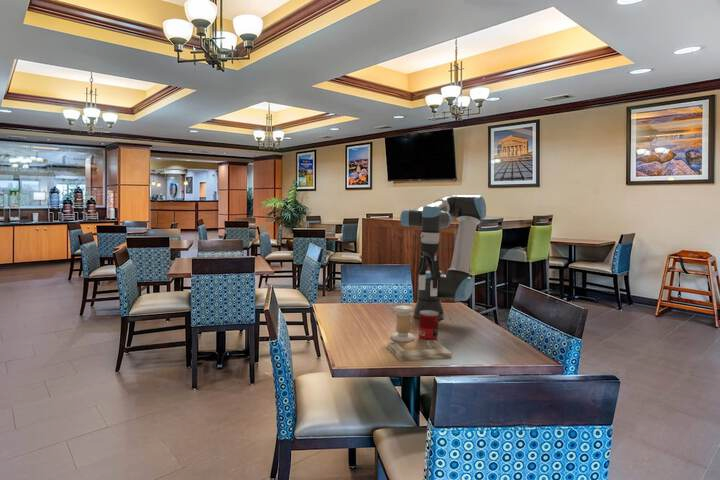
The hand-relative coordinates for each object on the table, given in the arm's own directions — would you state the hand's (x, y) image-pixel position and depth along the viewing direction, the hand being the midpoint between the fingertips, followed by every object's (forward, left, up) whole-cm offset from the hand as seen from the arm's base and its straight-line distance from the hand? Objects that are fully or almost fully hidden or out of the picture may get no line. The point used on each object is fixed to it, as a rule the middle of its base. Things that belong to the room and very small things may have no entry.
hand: (427, 292), depth 189 cm
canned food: (-1, +1, -19) cm, 19 cm away
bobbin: (+10, 0, -19) cm, 22 cm away
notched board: (+10, +18, -19) cm, 28 cm away
